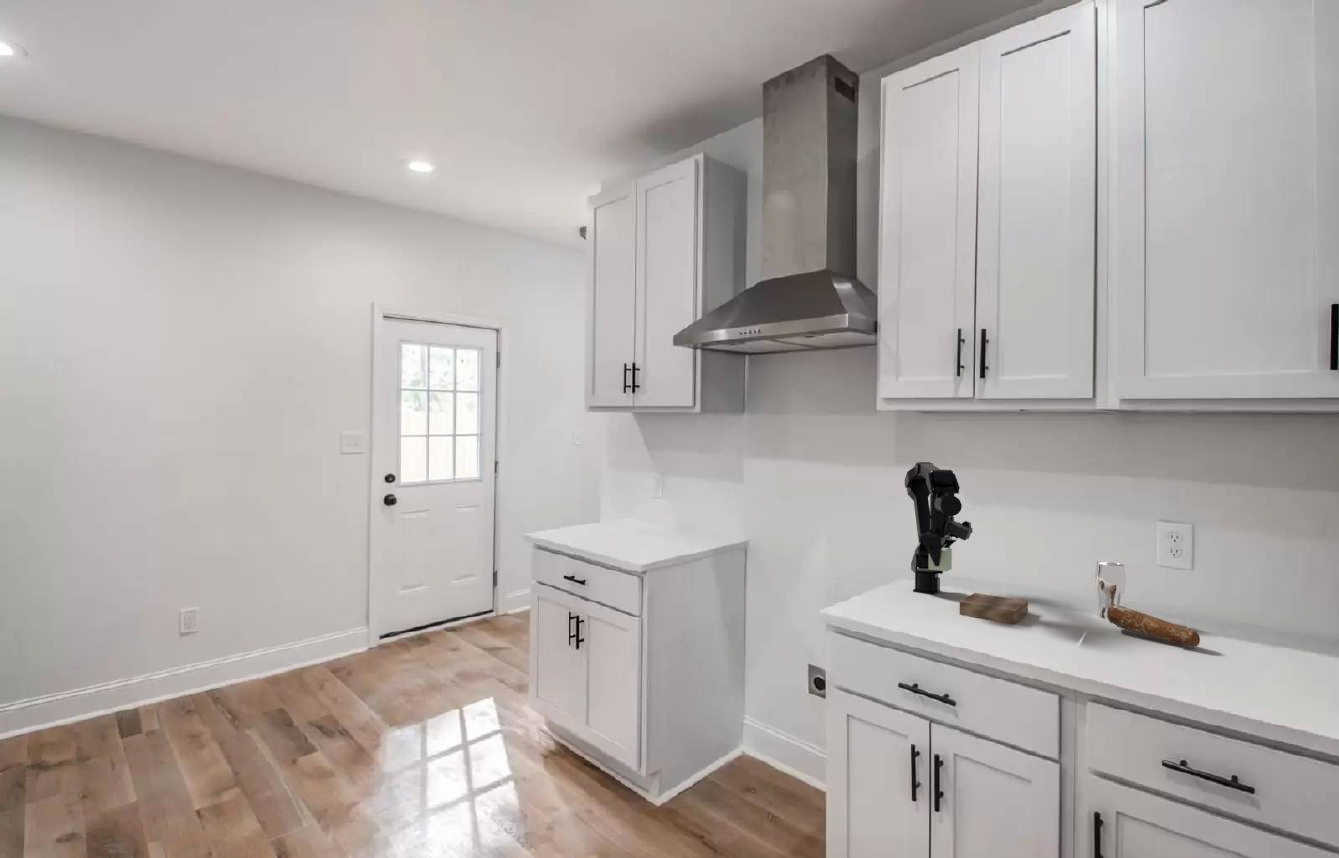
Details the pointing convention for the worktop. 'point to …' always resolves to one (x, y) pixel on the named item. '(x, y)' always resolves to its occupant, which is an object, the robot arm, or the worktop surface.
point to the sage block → (942, 561)
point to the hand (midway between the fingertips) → (940, 564)
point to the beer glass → (1109, 585)
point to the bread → (1151, 626)
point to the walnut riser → (994, 608)
